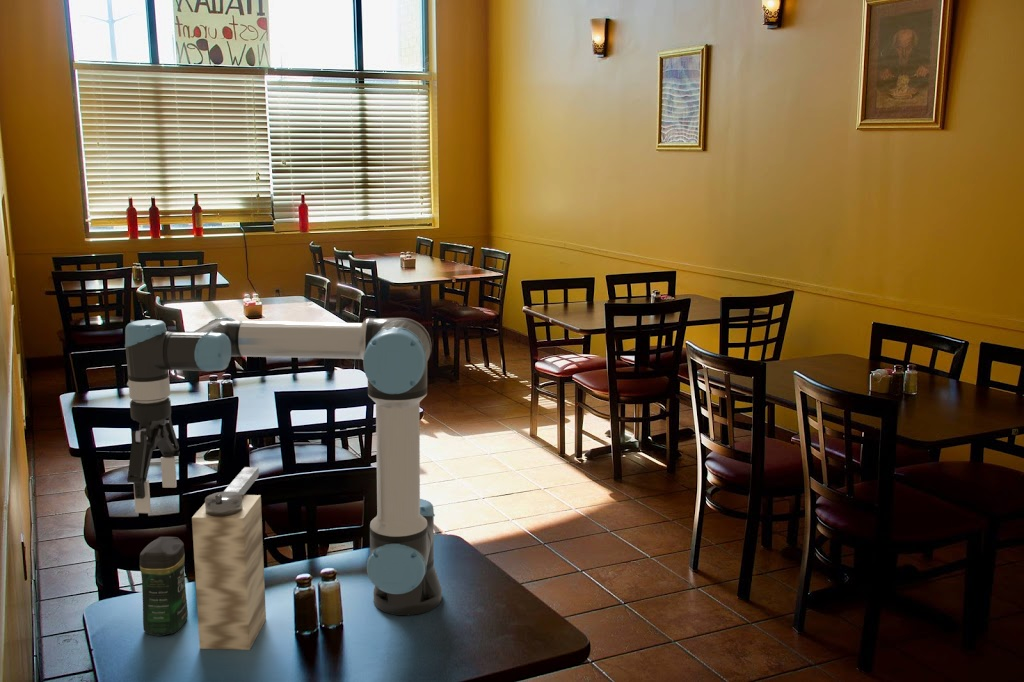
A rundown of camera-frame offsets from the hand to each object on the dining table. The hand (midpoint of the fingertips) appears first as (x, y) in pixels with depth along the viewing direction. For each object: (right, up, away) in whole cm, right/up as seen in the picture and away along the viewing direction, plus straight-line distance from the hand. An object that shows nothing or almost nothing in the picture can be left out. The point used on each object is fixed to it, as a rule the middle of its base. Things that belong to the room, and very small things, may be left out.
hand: (157, 499), depth 184 cm
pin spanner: (+15, 0, +3) cm, 15 cm away
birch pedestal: (+15, -28, +3) cm, 32 cm away
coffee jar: (0, -28, +6) cm, 28 cm away
